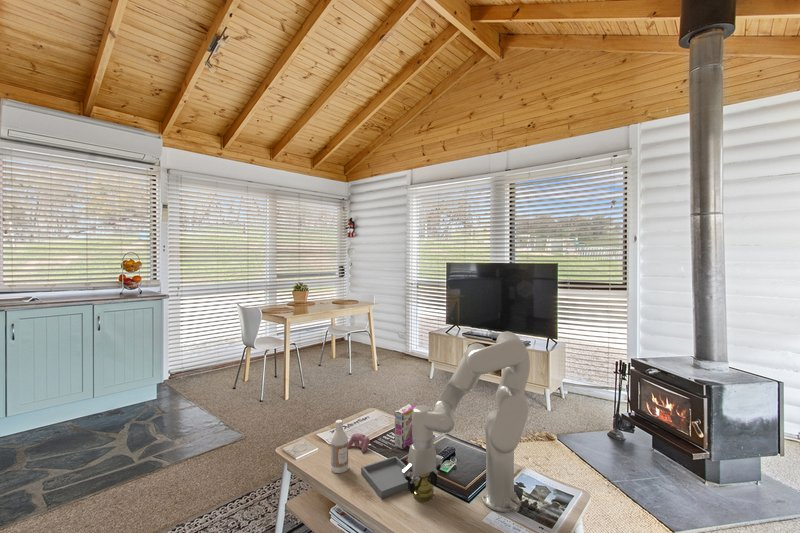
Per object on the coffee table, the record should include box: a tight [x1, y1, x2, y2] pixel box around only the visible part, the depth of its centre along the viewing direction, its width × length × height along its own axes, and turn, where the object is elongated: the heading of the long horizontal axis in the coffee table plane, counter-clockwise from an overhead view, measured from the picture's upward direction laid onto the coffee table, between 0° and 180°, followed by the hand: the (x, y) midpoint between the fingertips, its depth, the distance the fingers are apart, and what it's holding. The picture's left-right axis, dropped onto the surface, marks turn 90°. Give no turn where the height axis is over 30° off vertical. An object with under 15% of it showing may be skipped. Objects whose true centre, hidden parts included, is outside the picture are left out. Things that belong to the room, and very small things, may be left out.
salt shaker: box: [412, 472, 435, 503], centre depth 136 cm, size 7×7×10 cm
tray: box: [360, 455, 420, 500], centre depth 146 cm, size 18×16×3 cm
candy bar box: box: [394, 404, 417, 450], centre depth 174 cm, size 11×5×16 cm, turn 144°
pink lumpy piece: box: [348, 433, 371, 453], centre depth 171 cm, size 10×5×7 cm, turn 58°
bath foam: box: [330, 419, 349, 474], centre depth 153 cm, size 7×7×20 cm
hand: (422, 487), depth 136 cm, fingers open, 9 cm apart
